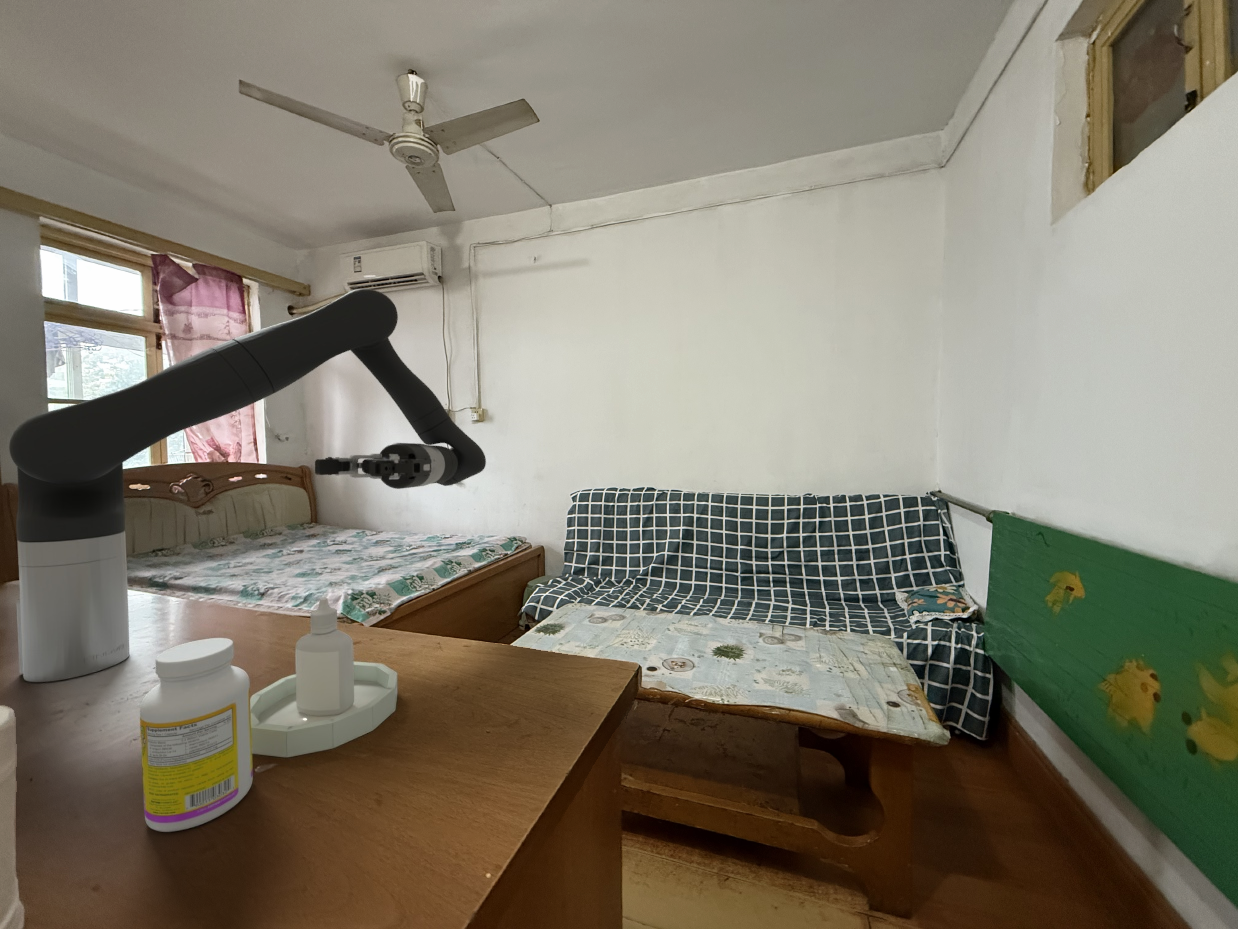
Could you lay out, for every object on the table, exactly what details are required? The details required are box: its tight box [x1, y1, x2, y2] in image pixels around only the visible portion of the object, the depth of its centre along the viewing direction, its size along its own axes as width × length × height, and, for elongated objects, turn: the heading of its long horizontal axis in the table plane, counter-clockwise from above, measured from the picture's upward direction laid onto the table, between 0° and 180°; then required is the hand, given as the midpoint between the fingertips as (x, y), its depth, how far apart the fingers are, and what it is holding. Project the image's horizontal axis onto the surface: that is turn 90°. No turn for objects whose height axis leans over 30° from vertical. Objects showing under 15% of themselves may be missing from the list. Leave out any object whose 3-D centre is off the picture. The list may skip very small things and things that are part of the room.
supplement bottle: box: [139, 637, 254, 833], centre depth 39 cm, size 7×7×13 cm
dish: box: [250, 660, 398, 758], centre depth 52 cm, size 14×14×2 cm
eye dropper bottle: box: [294, 597, 355, 716], centre depth 52 cm, size 4×6×12 cm
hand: (344, 468), depth 66 cm, fingers open, 8 cm apart
